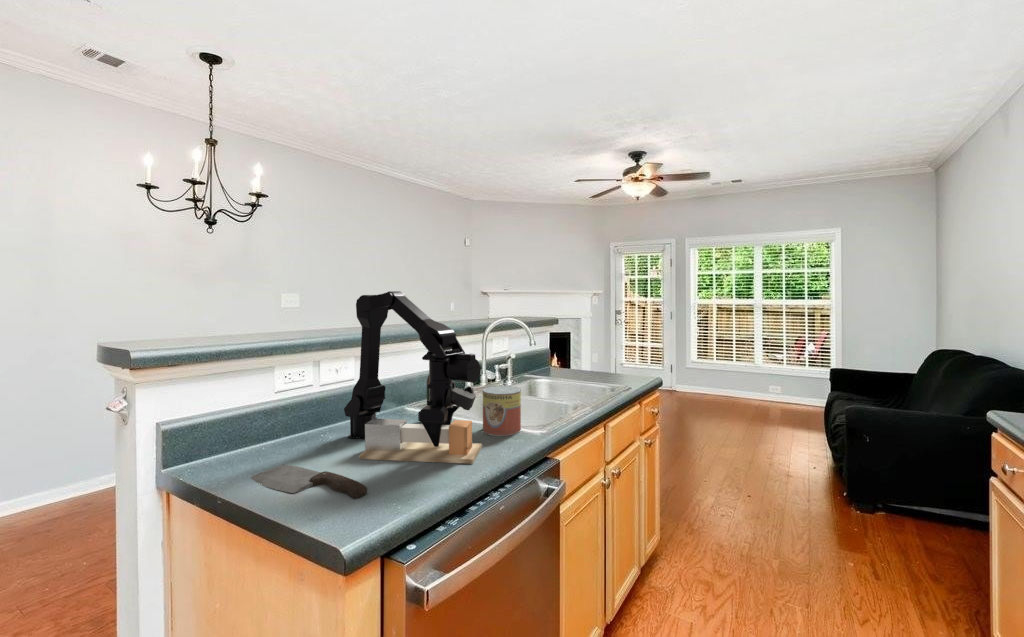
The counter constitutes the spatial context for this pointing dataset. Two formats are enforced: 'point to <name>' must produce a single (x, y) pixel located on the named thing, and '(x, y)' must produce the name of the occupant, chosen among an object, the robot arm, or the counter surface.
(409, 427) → the off-white square bar
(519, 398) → the canned food
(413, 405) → the counter surface
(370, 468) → the counter surface
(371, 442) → the sleeve
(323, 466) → the counter surface
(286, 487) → the cleaver
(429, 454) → the board
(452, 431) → the orange rectangular block
